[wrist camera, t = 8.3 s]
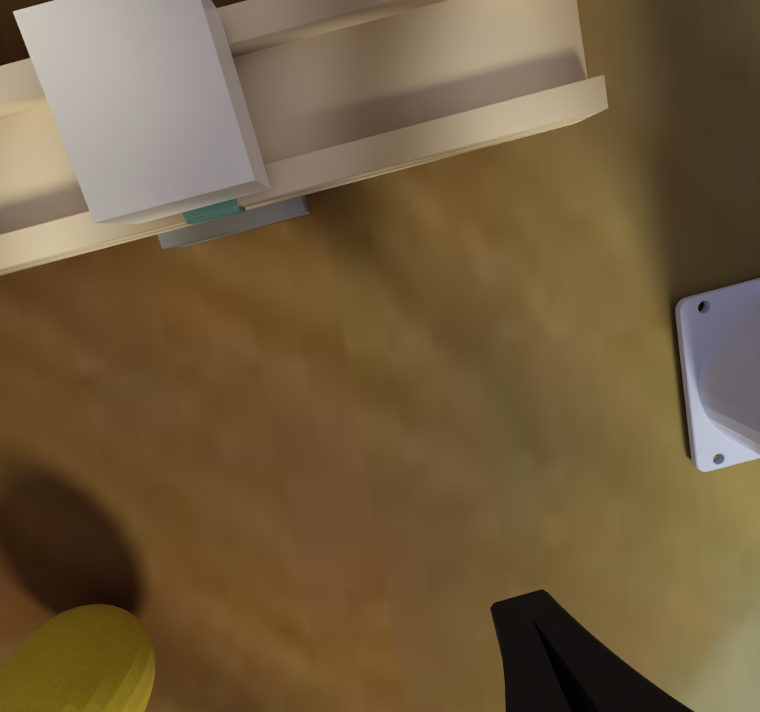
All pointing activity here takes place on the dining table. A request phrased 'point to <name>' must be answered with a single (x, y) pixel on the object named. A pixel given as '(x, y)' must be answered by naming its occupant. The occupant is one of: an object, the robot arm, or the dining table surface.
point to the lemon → (81, 664)
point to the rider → (145, 104)
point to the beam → (320, 110)
